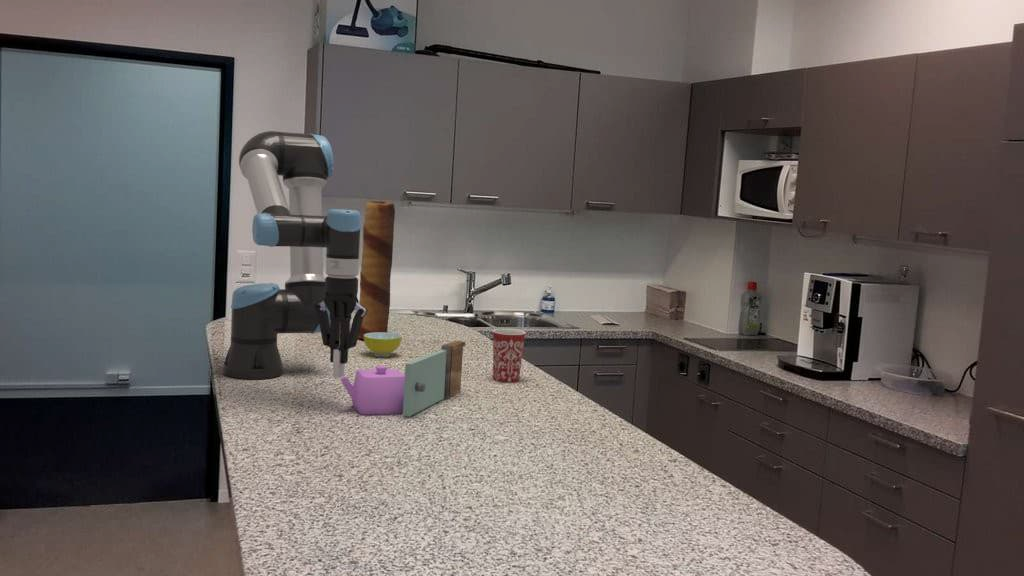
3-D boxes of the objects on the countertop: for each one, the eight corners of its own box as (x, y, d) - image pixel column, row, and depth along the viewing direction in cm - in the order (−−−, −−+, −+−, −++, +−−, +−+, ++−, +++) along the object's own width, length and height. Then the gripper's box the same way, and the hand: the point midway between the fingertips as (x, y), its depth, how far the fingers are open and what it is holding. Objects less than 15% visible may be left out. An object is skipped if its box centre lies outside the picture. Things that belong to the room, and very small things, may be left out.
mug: (526, 383, 250) (529, 334, 249) (493, 383, 248) (496, 333, 247) (515, 373, 263) (518, 326, 261) (484, 373, 260) (487, 325, 259)
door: (438, 397, 227) (440, 349, 225) (449, 399, 226) (452, 351, 224) (402, 415, 208) (405, 363, 206) (415, 417, 207) (418, 365, 205)
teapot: (344, 417, 205) (345, 372, 204) (334, 405, 215) (336, 362, 214) (421, 414, 212) (424, 370, 211) (409, 402, 222) (411, 360, 220)
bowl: (355, 356, 273) (356, 335, 272) (375, 350, 284) (376, 330, 283) (388, 361, 269) (389, 340, 268) (407, 355, 280) (408, 335, 279)
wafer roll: (395, 339, 304) (402, 202, 299) (374, 343, 296) (380, 202, 290) (371, 335, 310) (377, 200, 305) (350, 338, 301) (356, 200, 296)
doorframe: (436, 398, 227) (439, 346, 226) (452, 390, 237) (455, 340, 235) (446, 400, 226) (449, 347, 225) (462, 392, 236) (465, 341, 234)
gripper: (308, 275, 212) (305, 376, 215) (359, 279, 208) (355, 382, 210) (325, 273, 219) (322, 371, 222) (374, 277, 215) (370, 377, 217)
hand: (338, 376), depth 216 cm, fingers closed
